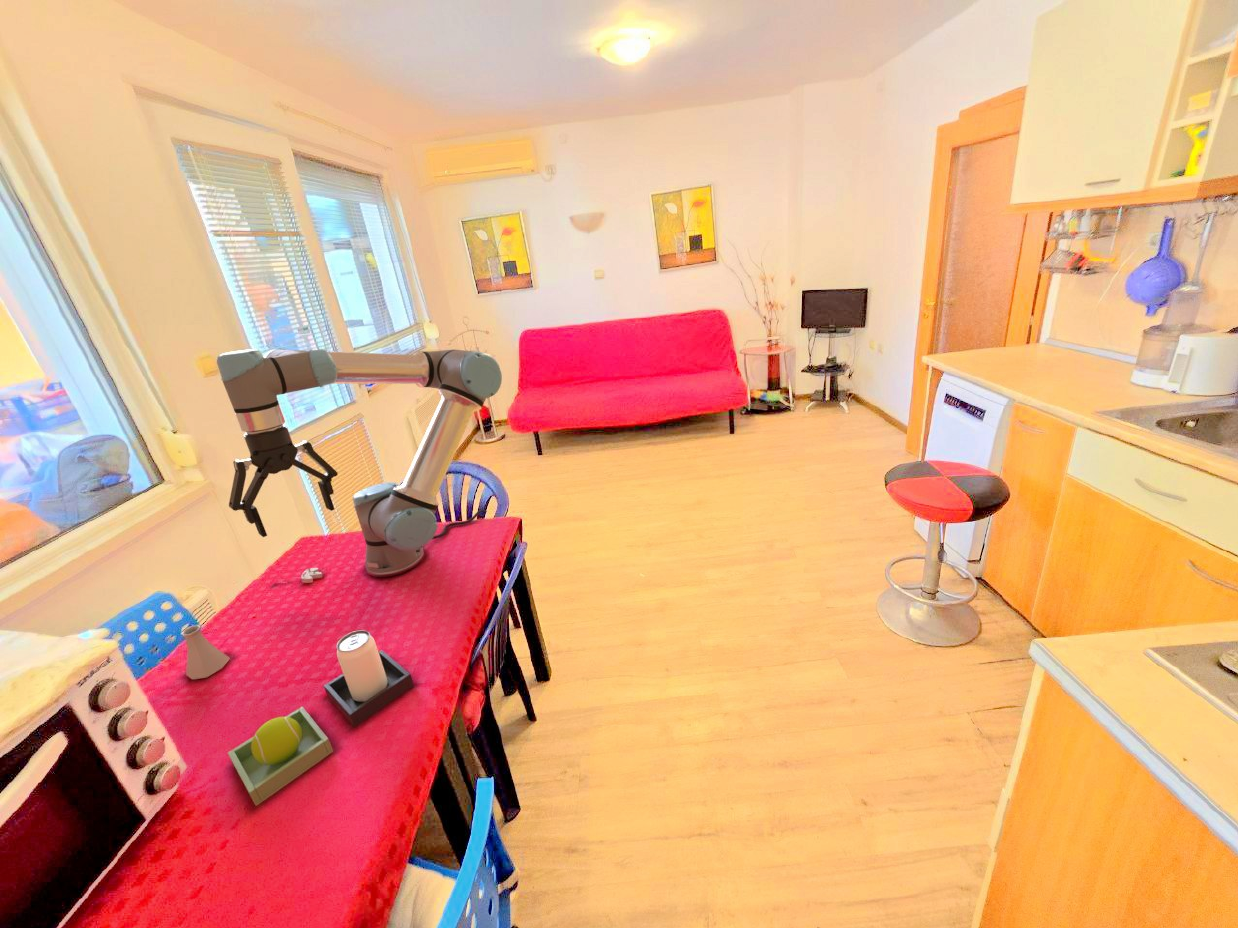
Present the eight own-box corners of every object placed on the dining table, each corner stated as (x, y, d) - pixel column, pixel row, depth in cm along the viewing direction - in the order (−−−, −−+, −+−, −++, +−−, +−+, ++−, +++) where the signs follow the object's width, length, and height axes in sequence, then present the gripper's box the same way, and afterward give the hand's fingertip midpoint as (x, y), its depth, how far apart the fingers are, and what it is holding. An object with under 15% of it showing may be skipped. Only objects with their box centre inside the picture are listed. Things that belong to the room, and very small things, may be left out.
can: (351, 708, 93) (332, 657, 89) (353, 684, 99) (335, 635, 94) (388, 695, 95) (371, 645, 91) (388, 672, 101) (372, 624, 97)
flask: (206, 682, 104) (187, 643, 100) (179, 678, 105) (159, 640, 102) (237, 656, 110) (220, 619, 107) (211, 654, 112) (193, 617, 108)
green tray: (307, 718, 93) (302, 705, 92) (333, 751, 85) (328, 738, 84) (233, 765, 85) (227, 752, 83) (255, 806, 77) (249, 792, 76)
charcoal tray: (385, 661, 105) (381, 649, 104) (414, 685, 98) (410, 673, 97) (327, 697, 97) (323, 685, 96) (354, 727, 90) (349, 714, 89)
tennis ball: (266, 783, 80) (250, 751, 78) (255, 757, 85) (240, 727, 82) (313, 752, 85) (300, 721, 82) (300, 730, 90) (287, 700, 87)
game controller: (323, 579, 137) (320, 571, 136) (274, 595, 132) (270, 587, 131) (322, 570, 141) (319, 562, 140) (275, 585, 136) (271, 577, 135)
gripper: (321, 410, 113) (348, 495, 121) (184, 444, 95) (225, 542, 103) (335, 414, 108) (362, 502, 116) (194, 451, 91) (237, 552, 99)
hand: (298, 521), depth 110 cm, fingers open, 13 cm apart
